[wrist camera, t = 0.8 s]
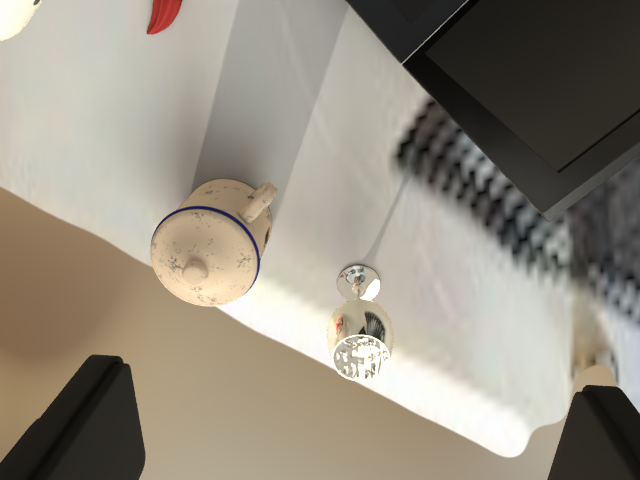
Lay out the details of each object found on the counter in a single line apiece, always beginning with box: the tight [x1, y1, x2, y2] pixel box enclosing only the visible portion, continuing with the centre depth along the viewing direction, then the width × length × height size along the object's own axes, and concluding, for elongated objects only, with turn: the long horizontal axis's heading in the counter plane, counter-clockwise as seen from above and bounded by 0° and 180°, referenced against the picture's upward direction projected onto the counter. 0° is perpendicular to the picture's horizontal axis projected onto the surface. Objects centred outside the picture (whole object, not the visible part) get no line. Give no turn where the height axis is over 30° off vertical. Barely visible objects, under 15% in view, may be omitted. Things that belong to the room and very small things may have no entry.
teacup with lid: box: [150, 179, 277, 306], centre depth 41 cm, size 12×9×12 cm
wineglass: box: [327, 265, 394, 381], centre depth 44 cm, size 6×6×12 cm
